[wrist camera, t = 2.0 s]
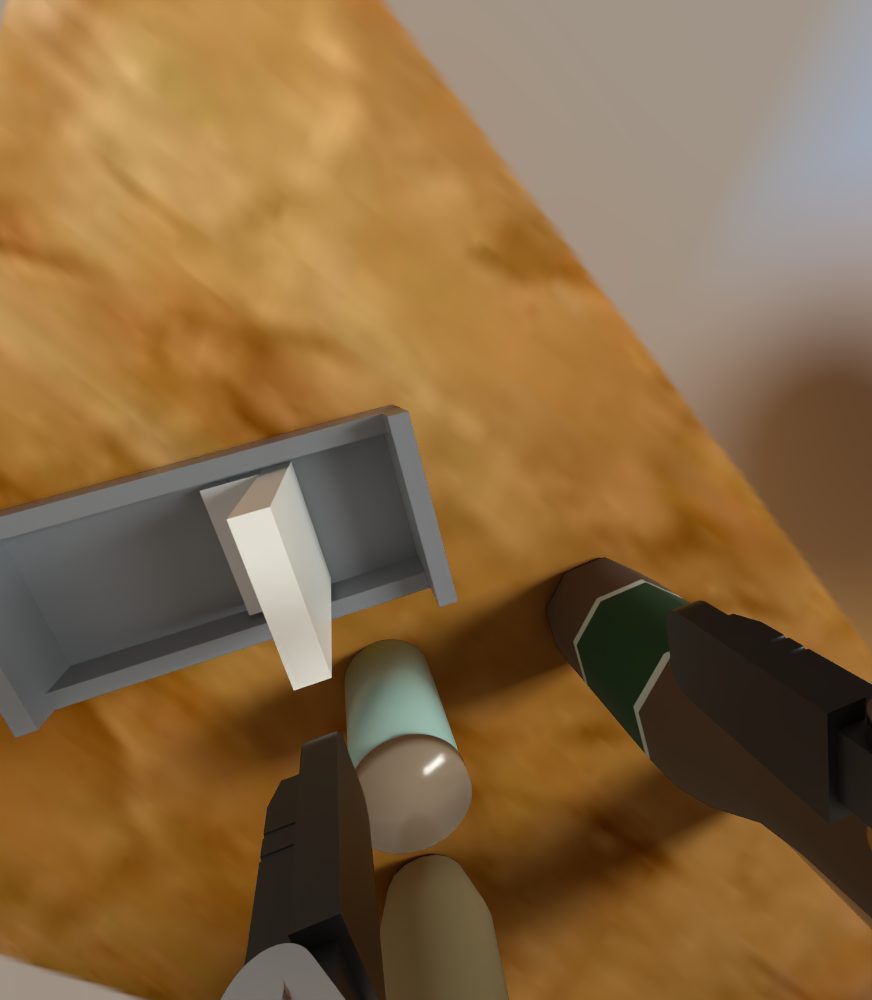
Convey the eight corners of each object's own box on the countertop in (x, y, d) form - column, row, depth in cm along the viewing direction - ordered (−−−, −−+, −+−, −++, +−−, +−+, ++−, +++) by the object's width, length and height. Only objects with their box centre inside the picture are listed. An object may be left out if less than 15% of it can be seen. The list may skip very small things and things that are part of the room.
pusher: (291, 461, 27) (270, 506, 17) (330, 578, 29) (331, 677, 19) (207, 484, 26) (136, 545, 16) (253, 602, 28) (215, 717, 19)
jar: (418, 626, 32) (456, 731, 22) (439, 699, 34) (483, 825, 24) (331, 655, 31) (332, 777, 22) (357, 728, 33) (369, 871, 23)
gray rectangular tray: (392, 404, 28) (408, 411, 23) (434, 560, 31) (457, 601, 25) (-20, 515, 25) (-122, 556, 20) (68, 676, 28) (2, 752, 22)
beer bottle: (583, 676, 36) (1035, 1206, 13) (520, 608, 33) (938, 1115, 10) (662, 604, 36) (1258, 1007, 13) (605, 531, 33) (1213, 867, 10)
